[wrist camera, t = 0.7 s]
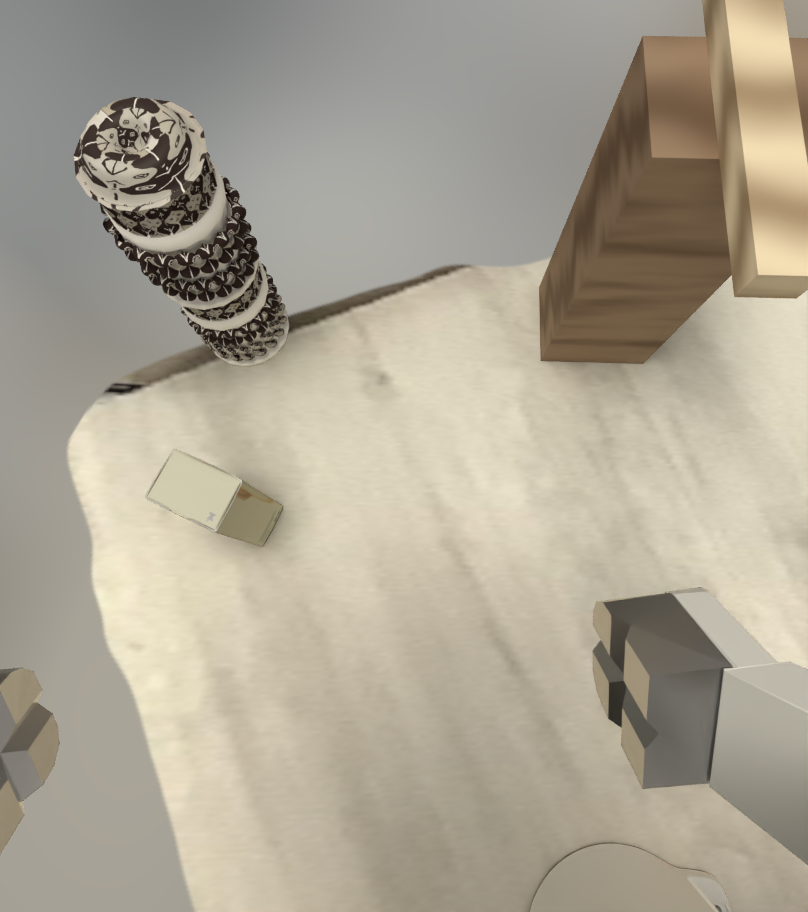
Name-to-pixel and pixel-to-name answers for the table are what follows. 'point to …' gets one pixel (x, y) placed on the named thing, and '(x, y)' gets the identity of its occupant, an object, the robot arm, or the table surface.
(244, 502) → the skincare box
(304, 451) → the table surface
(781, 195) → the slat
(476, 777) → the table surface
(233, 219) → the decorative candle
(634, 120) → the pedestal
